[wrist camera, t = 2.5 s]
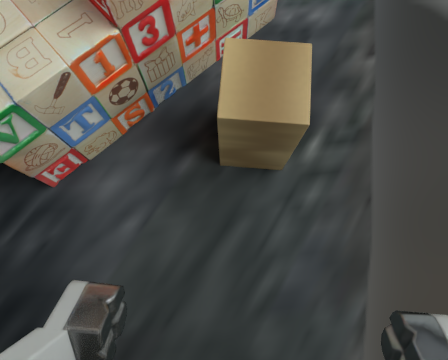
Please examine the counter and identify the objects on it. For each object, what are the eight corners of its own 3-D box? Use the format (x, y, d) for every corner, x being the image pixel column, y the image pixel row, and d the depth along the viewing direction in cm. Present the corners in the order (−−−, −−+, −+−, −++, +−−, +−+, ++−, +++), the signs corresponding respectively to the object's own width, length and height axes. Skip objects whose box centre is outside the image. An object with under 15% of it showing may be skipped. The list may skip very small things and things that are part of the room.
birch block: (219, 168, 25) (215, 117, 16) (224, 113, 26) (223, 36, 17) (280, 173, 25) (310, 124, 16) (283, 117, 26) (313, 43, 17)
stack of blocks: (57, 192, 24) (-114, 116, 12) (11, 132, 25) (-184, 9, 13) (275, 22, 27) (309, -168, 15) (224, -23, 29) (219, -231, 17)
